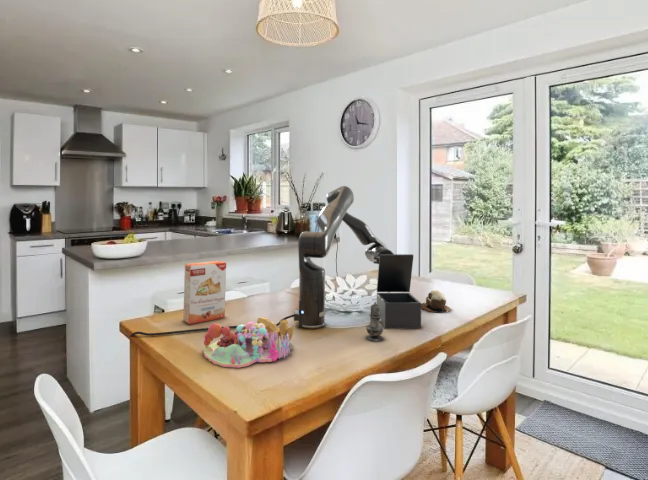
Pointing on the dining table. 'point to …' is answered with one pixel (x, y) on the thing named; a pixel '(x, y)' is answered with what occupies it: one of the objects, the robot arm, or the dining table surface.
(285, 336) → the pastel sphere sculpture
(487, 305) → the dining table surface
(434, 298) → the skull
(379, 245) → the robot arm
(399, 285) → the lid
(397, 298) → the dark grey box
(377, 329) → the salt shaker
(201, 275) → the cracker box
